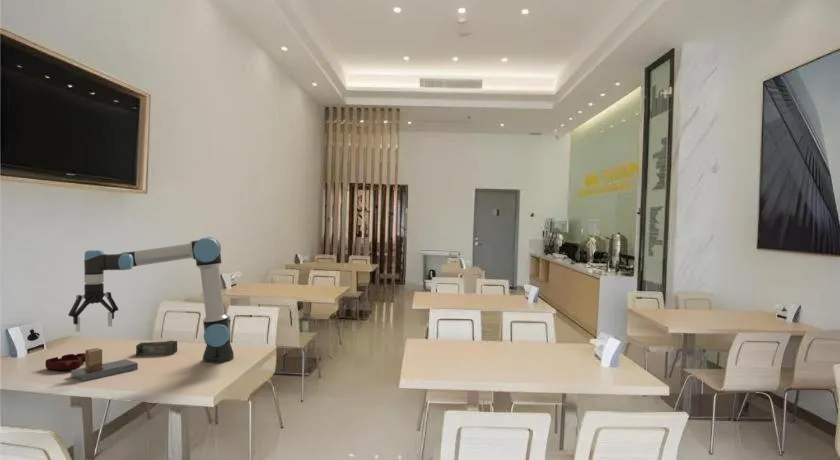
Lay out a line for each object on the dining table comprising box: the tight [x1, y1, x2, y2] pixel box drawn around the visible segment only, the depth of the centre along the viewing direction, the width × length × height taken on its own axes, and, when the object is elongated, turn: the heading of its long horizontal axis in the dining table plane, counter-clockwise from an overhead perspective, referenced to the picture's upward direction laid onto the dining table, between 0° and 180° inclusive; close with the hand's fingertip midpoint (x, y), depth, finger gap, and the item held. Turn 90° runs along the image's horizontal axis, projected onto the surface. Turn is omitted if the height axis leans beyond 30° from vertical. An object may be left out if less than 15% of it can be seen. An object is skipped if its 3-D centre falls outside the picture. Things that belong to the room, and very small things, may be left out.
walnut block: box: [84, 347, 103, 372], centre depth 234 cm, size 5×5×12 cm
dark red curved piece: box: [44, 352, 86, 371], centre depth 246 cm, size 18×16×5 cm
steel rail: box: [70, 358, 139, 382], centre depth 238 cm, size 12×24×3 cm, turn 146°
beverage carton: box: [135, 340, 178, 357], centre depth 275 cm, size 8×19×7 cm, turn 102°
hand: (94, 328), depth 234 cm, fingers open, 13 cm apart
